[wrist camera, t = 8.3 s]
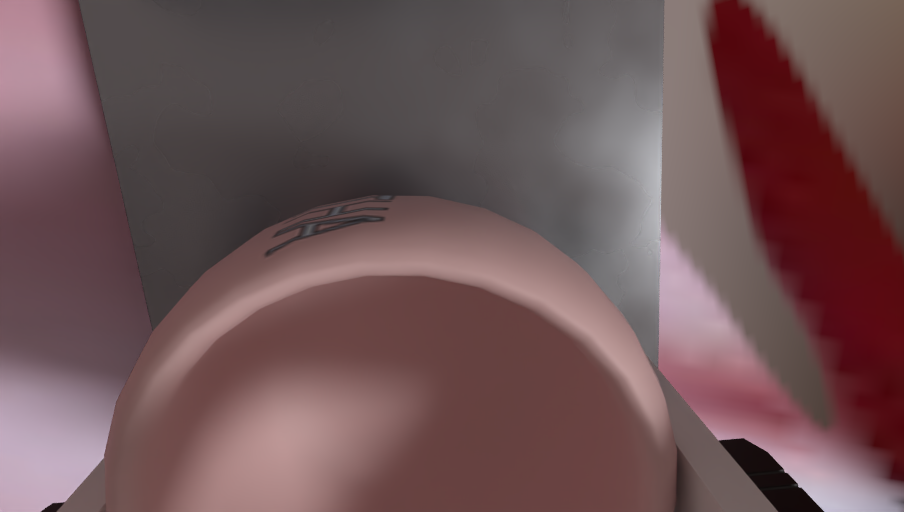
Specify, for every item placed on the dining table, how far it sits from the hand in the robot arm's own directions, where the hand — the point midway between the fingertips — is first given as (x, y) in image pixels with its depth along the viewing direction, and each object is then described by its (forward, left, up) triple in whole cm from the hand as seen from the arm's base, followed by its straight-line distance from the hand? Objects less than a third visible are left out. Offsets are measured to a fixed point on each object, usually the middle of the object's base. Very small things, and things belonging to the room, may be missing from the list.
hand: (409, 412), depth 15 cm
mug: (0, 0, -1) cm, 1 cm away
